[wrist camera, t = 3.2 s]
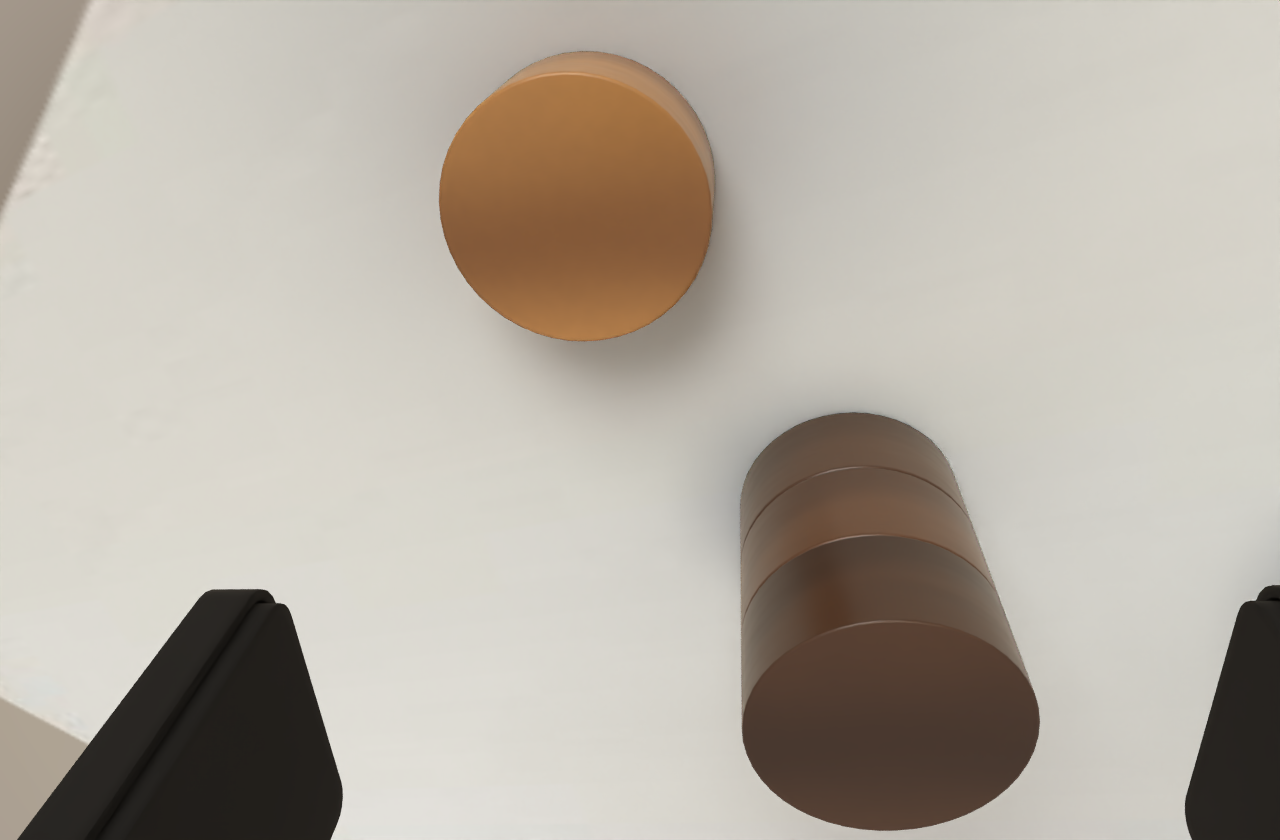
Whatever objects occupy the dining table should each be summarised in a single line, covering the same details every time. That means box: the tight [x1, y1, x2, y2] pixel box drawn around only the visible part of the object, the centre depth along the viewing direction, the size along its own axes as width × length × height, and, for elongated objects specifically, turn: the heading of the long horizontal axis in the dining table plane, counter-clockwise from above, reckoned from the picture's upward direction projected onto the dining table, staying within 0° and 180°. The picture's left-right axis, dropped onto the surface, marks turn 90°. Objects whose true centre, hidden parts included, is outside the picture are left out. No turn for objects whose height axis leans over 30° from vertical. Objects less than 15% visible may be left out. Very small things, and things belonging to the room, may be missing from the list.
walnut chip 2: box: [741, 468, 1001, 636], centre depth 25 cm, size 6×6×3 cm
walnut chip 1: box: [740, 413, 974, 556], centre depth 28 cm, size 6×6×3 cm
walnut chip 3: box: [741, 536, 1040, 831], centre depth 23 cm, size 6×6×3 cm
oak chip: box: [439, 51, 715, 341], centre depth 24 cm, size 6×6×3 cm
